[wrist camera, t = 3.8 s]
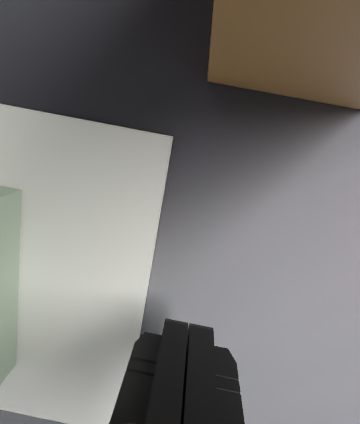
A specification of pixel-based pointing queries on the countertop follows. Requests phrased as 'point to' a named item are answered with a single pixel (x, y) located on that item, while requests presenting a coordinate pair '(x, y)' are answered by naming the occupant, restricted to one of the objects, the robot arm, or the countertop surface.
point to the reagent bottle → (288, 48)
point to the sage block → (9, 276)
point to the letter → (79, 257)
